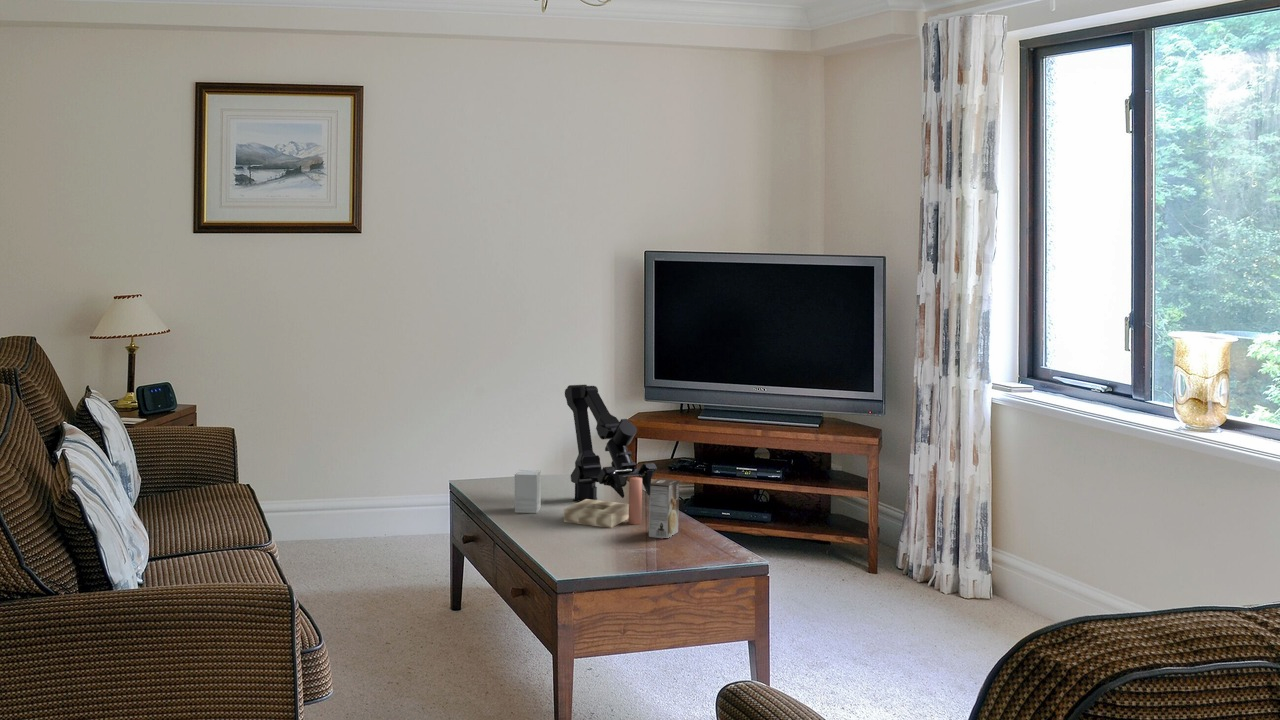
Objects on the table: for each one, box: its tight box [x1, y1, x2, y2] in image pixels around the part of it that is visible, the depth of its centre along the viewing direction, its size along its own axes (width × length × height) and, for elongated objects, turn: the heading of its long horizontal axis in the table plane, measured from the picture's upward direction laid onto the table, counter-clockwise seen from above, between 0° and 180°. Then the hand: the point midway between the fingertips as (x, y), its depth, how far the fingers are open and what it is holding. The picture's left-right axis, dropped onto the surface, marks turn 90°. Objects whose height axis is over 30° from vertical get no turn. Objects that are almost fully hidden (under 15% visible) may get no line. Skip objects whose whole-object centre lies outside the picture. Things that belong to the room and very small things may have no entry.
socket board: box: [563, 499, 629, 529], centre depth 341 cm, size 16×16×4 cm
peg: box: [627, 476, 643, 526], centre depth 337 cm, size 4×4×14 cm
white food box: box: [648, 478, 680, 539], centre depth 324 cm, size 9×6×16 cm
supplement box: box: [514, 469, 542, 514], centre depth 350 cm, size 7×7×13 cm
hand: (636, 495), depth 337 cm, fingers open, 9 cm apart
